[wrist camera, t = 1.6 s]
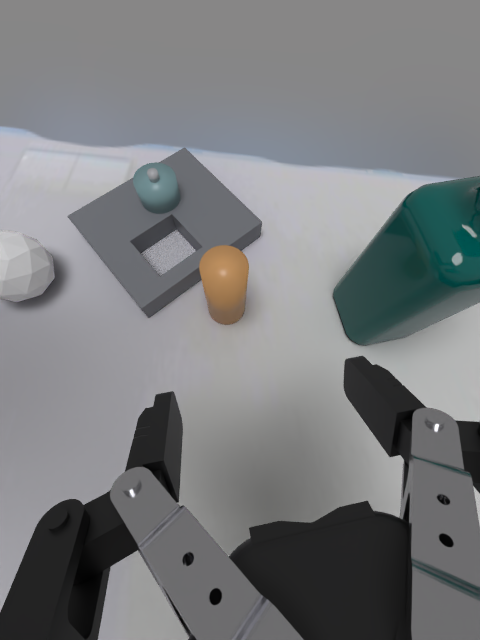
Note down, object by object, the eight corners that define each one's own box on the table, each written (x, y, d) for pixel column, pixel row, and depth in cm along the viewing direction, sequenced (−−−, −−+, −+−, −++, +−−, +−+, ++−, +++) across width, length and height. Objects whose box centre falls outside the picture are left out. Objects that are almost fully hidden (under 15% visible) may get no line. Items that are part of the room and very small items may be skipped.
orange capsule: (224, 331, 34) (220, 298, 24) (201, 305, 35) (189, 263, 25) (251, 309, 35) (258, 269, 25) (228, 284, 36) (227, 236, 26)
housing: (148, 317, 34) (128, 293, 27) (79, 231, 38) (47, 191, 31) (260, 236, 38) (265, 198, 31) (187, 165, 42) (179, 118, 35)
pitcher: (349, 349, 33) (543, 235, 12) (327, 285, 36) (457, 103, 15) (426, 333, 34) (727, 202, 13) (399, 272, 37) (615, 82, 16)
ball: (43, 278, 38) (15, 218, 34) (78, 291, 35) (52, 225, 30) (-23, 304, 33) (-66, 235, 29) (11, 322, 29) (-33, 247, 25)
